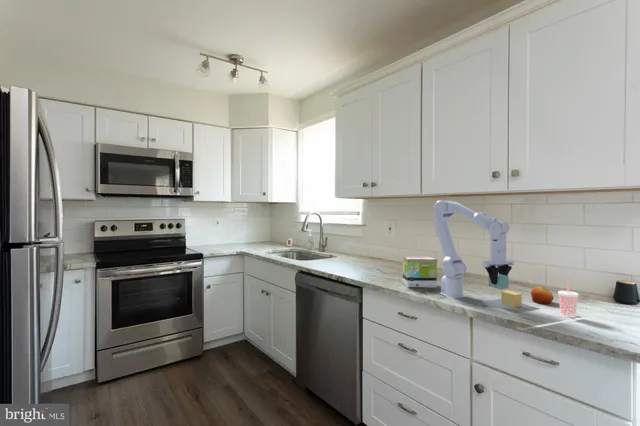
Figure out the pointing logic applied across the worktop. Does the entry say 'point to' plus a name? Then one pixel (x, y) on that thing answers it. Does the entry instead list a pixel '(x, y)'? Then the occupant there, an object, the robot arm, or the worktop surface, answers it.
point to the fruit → (541, 295)
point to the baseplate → (512, 309)
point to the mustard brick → (511, 298)
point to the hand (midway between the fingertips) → (498, 283)
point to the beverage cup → (568, 302)
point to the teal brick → (500, 282)
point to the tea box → (419, 271)
